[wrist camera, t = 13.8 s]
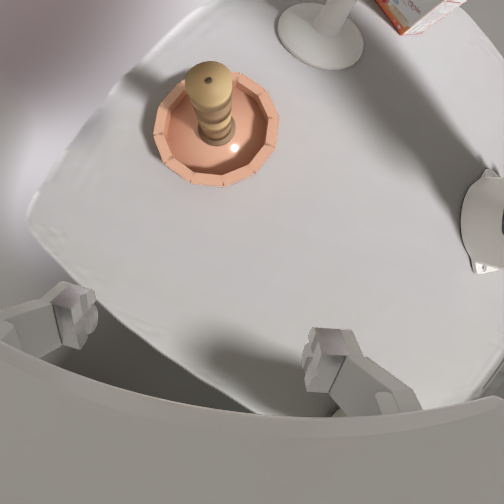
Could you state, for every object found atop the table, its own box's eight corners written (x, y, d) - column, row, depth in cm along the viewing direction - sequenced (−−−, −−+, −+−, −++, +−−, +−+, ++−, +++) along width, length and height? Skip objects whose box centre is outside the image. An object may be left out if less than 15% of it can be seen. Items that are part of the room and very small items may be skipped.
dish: (279, 89, 33) (284, 79, 29) (266, 193, 35) (269, 192, 32) (172, 78, 31) (167, 68, 28) (153, 181, 33) (146, 179, 30)
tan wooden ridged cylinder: (237, 114, 32) (243, 58, 18) (232, 148, 32) (234, 110, 18) (201, 110, 31) (184, 54, 17) (195, 144, 32) (172, 105, 18)
